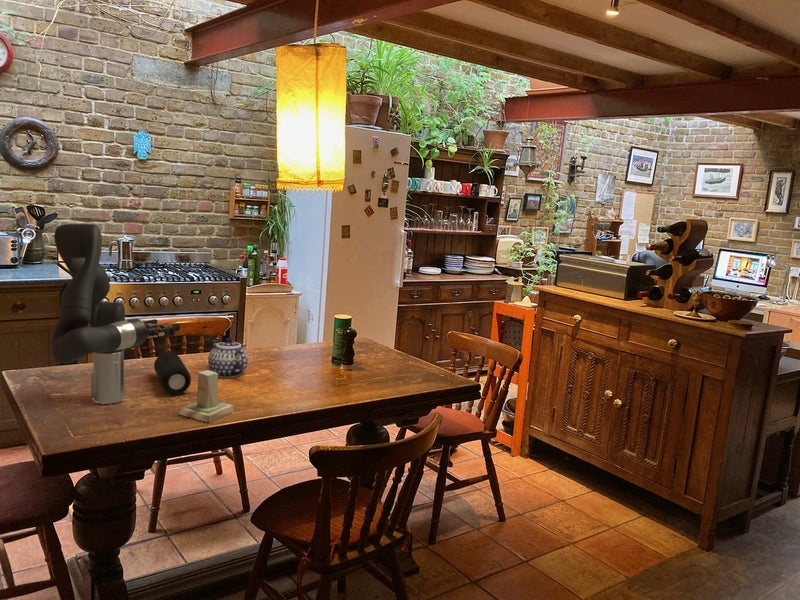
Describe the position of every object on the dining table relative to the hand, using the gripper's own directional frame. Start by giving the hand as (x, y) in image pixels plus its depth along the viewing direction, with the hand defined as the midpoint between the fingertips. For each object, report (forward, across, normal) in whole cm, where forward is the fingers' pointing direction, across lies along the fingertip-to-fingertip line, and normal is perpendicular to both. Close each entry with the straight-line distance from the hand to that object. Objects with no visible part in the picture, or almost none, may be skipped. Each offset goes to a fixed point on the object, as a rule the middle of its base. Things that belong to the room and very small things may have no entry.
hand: (167, 324), depth 190 cm
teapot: (+55, +20, +32) cm, 67 cm away
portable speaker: (+32, +27, +32) cm, 53 cm away
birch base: (+16, -2, +32) cm, 36 cm away
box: (+16, -2, +29) cm, 33 cm away
